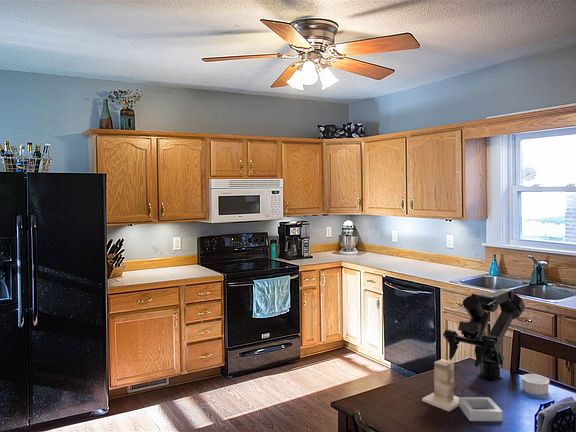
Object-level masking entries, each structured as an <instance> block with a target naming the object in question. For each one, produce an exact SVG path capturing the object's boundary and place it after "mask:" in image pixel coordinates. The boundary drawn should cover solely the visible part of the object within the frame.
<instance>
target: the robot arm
mask: <svg viewBox="0 0 576 432" xmlns="http://www.w3.org/2000/svg"><path fill="white" fill-rule="evenodd" d="M462 306H463V307H464V309H465V311H466V313H467V314H468V316H469V317H470V319H469V321H463V320H462V321H459V323H458V328H457V330H458V331H461V332H460V333H461V335H462V336H461V335H458V332H457V331H456V330H455V331H454V330H452V329H451V330H450V329H445V330H444V331H443V334H442V336H443V337H444V339H445V340H446V342H447V343H448V346H449V347H448V348H449V350H448V353H449V354H448V359H449V360H450V361H452V359H453V358H454V356H455V354H456V352H457V350H458V348H459V344H460V342H461V343H463V344H468V345H469V344H470V345H472V346H474V355H475V362H474V367H475V368H477V367H479V366H480V372H479V373H477V374H476V375H477V376H478V377H479V378H482V379H483V380H486V381H488V382H493V381H498V380H502V379H503V377H502V376H501V374H500V373H501V368H500V365H501V366H503V364H504V362H505V361H504V360H505V356H504V354H503V352H502V349H501V345H500V344H501V343H502V341H503V339H504V336H505V335H506V334H507V331H508V329H509V327H510V325H511V324H512V323H513V320H515V319H517V318H518V319H519V318H520V316H522V313H523V312H524V311H525V308H526V307H525V303H524V300H523V299H522V298H521V296H519V295H518V294H516V293H515V291H514V290H513V289H509V288H499V290H496V291H494V292H491V293H489V294H487V293H486V294H485V293H479V294H477V293H471V295H469V296H467V297H465V298H464V299H463V301H462ZM499 308H500V313H499V315H498V317H497V318H496V321H495V323H494V324H493V326H492V328H491V330H490V331H489V333H488V335H486V331H485V330H486V328H487V325H488V322H489V323H490V322H491V318H490V317H491V316H490V314H489V312H490V313H494V312H495V311H496V310H498V309H499Z"/></svg>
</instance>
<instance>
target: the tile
mask: <svg viewBox="0 0 576 432" xmlns="http://www.w3.org/2000/svg"><path fill="white" fill-rule="evenodd" d="M459 397H460V396H456V395H454V399H453V400H451V401H449V402H447V403H444V402H442V401H439V400H437V399H434V392H432V393H430V394H428V395H426V396H424V397H422V400H421V402H424V403H426V404H429V405H432V406H433V407H436V408H438V409H442V410H443V411H447V412H451V411H452V410H453V411H454V409H456V408H458V407H459Z"/></svg>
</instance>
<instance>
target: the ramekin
mask: <svg viewBox="0 0 576 432" xmlns="http://www.w3.org/2000/svg"><path fill="white" fill-rule="evenodd" d="M520 378H521V383H522V384H521V385H522V389H523V391H525V392H527V393H529V394H530V395H532V394H533V395H537V396H539V395H540V396H544V395H546V394H548V393H549V386H550V379H549V378H548V377H546V376H543V375H540V374H534V373H526V374H523V375H521V376H520Z"/></svg>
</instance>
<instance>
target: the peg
mask: <svg viewBox="0 0 576 432" xmlns="http://www.w3.org/2000/svg"><path fill="white" fill-rule="evenodd" d="M433 364H434V367H433V369H434V371H433V373H434V374H433V383H434V384H433V386H434V387H433V389H434V390H433V391H434V392H433V393H434V399H437V400H439V401H442V402H444V403H447V402H449V401H451V400H453V399H454V396H455V394H454V393H455V391H454V390H455V388H454V380H455V374H454V373H455V362H453V361H451V360H450V361H449V360H446V359H443V358H441V359H439V360H436V361H434V363H433Z"/></svg>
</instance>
